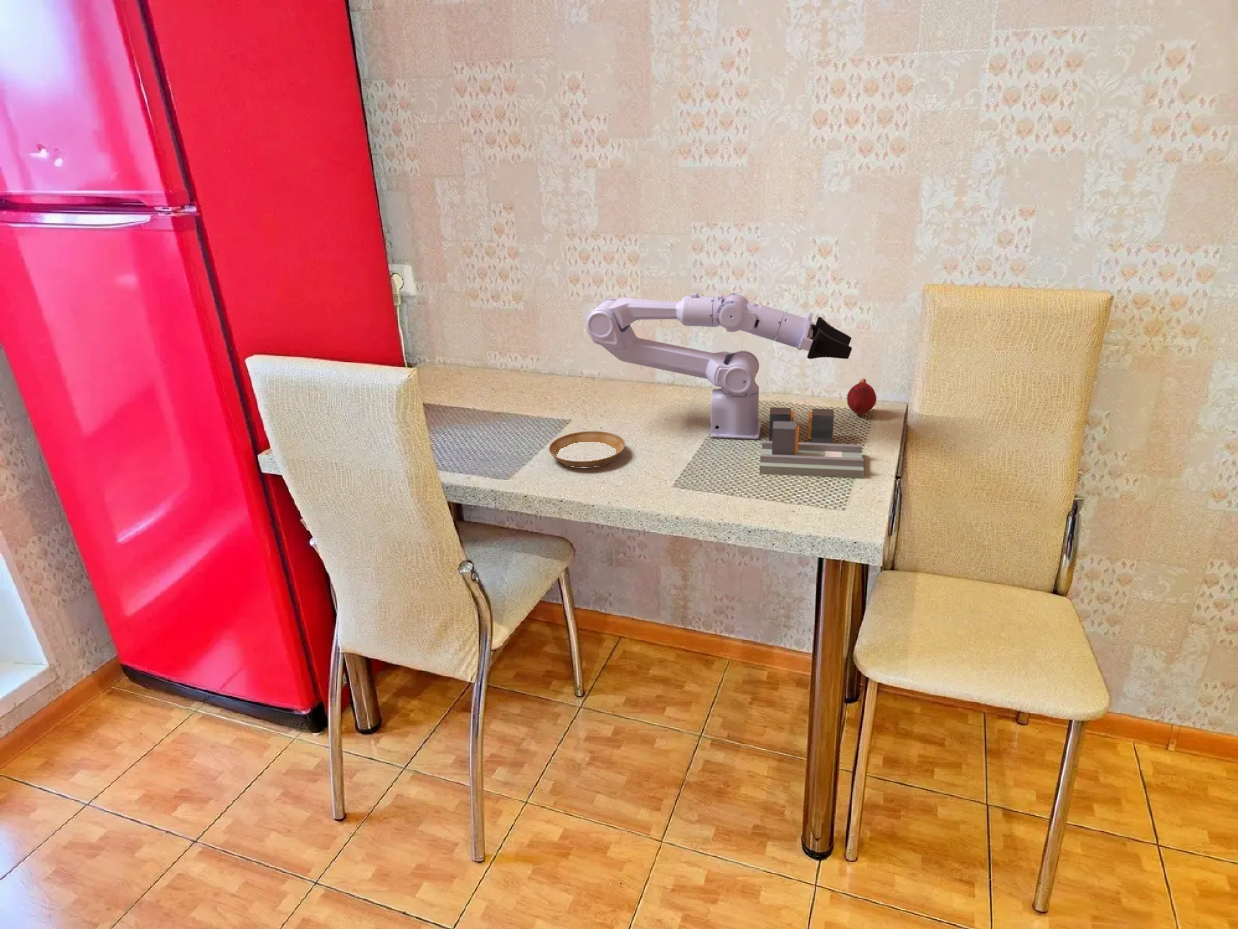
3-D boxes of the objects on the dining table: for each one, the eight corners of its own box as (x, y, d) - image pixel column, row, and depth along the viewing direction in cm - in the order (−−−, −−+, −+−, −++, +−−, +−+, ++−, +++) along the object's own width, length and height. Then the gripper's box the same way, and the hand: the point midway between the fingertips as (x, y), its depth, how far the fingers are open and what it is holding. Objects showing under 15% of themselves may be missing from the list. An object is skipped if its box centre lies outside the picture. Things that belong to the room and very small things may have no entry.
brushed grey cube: (807, 443, 159) (809, 415, 157) (807, 436, 162) (809, 408, 160) (832, 444, 158) (834, 415, 156) (831, 437, 161) (833, 409, 159)
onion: (875, 421, 168) (879, 384, 164) (846, 420, 169) (849, 383, 166) (873, 410, 173) (876, 374, 170) (845, 410, 174) (847, 374, 171)
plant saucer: (533, 461, 158) (532, 449, 157) (585, 436, 168) (585, 424, 167) (589, 481, 149) (588, 468, 148) (641, 453, 159) (640, 441, 158)
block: (768, 442, 161) (769, 413, 158) (769, 435, 164) (770, 407, 161) (792, 443, 160) (794, 414, 157) (793, 436, 163) (794, 407, 160)
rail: (759, 473, 148) (760, 434, 145) (762, 450, 157) (763, 414, 154) (863, 478, 145) (866, 438, 142) (860, 454, 154) (863, 417, 150)
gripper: (784, 314, 147) (858, 337, 145) (788, 298, 160) (856, 318, 158) (771, 351, 150) (844, 373, 149) (777, 332, 163) (843, 352, 161)
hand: (849, 347), depth 154 cm, fingers open, 7 cm apart
